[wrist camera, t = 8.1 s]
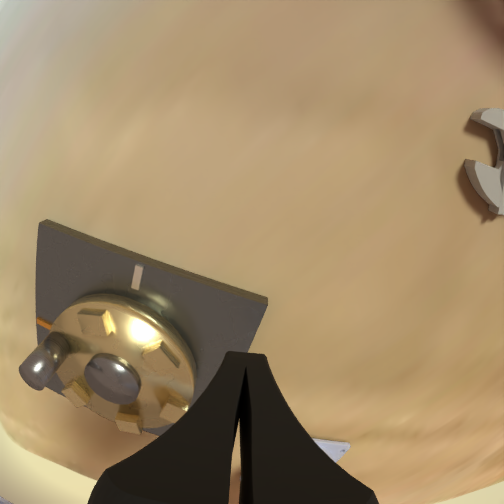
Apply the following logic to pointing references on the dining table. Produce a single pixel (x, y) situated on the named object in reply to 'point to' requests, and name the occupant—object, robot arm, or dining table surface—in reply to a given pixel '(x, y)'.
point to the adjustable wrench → (481, 175)
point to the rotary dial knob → (117, 362)
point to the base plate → (144, 297)
